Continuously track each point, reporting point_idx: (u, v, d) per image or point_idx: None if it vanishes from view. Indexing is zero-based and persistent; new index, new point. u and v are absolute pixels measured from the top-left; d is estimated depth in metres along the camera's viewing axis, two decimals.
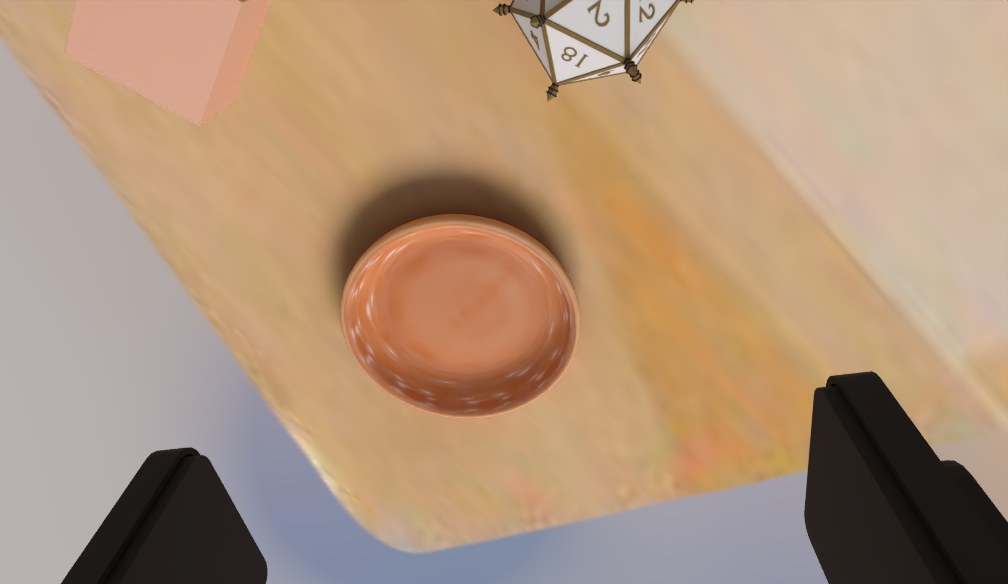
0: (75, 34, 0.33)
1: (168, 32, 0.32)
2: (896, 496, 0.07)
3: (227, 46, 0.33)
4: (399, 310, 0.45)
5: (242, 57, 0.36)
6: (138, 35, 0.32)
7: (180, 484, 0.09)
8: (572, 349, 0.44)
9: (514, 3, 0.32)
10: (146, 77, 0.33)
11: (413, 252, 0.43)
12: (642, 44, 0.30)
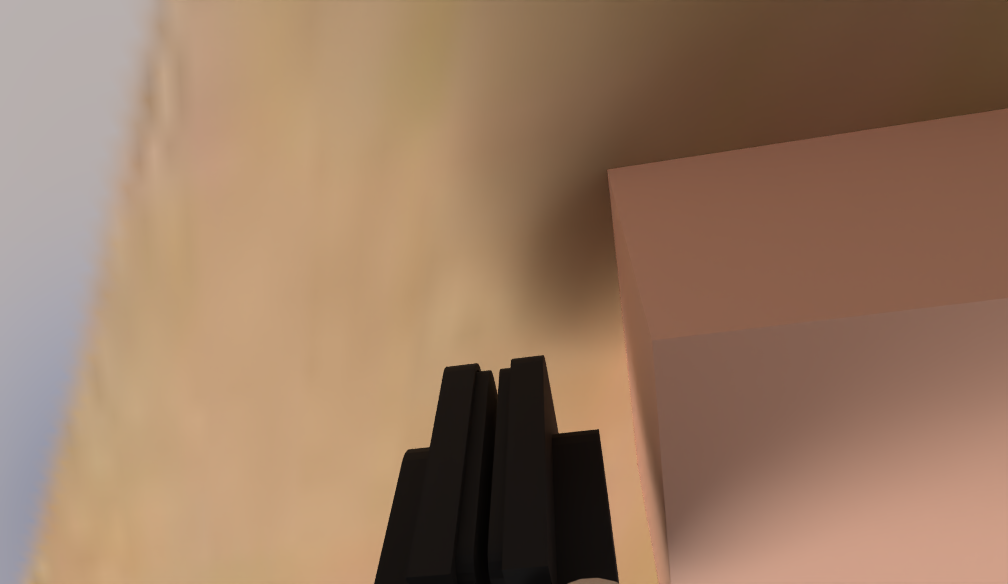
0: (777, 345, 0.07)
1: (971, 572, 0.08)
2: (502, 454, 0.09)
3: None
4: None
5: None
6: (909, 513, 0.08)
7: (485, 393, 0.10)
8: None
9: None
10: (751, 570, 0.09)
11: None
12: None
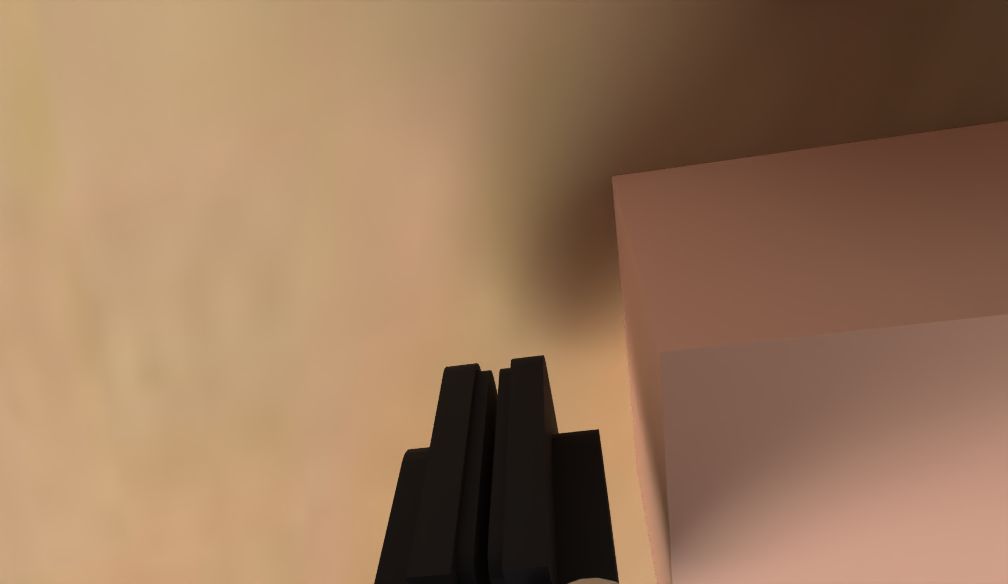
0: (784, 358, 0.07)
1: (970, 583, 0.09)
2: (502, 454, 0.09)
3: None
4: None
5: None
6: (911, 524, 0.08)
7: (485, 393, 0.10)
8: None
9: None
10: (753, 579, 0.09)
11: None
12: None
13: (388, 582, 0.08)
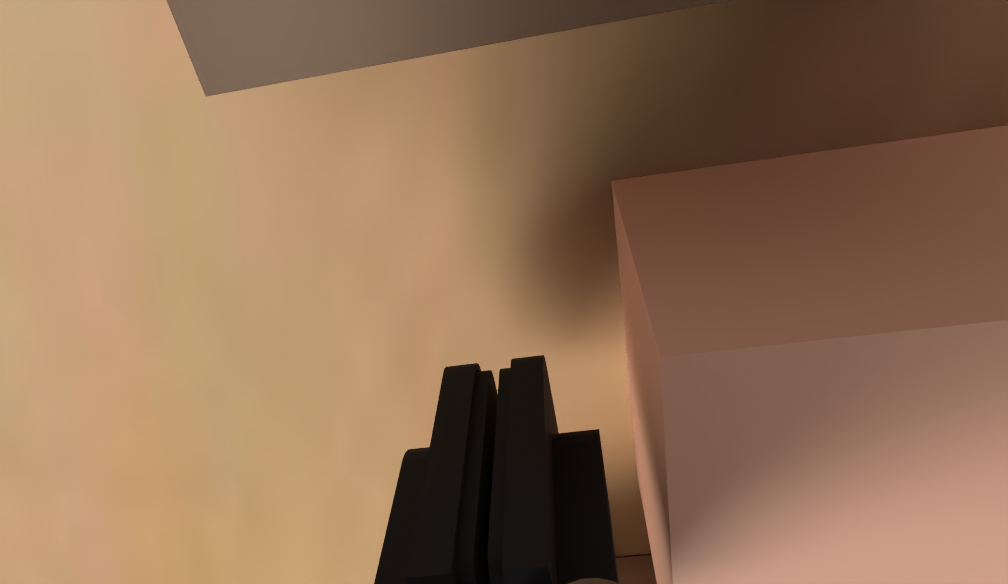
0: (784, 363, 0.07)
1: None
2: (502, 454, 0.09)
3: None
4: None
5: None
6: (910, 527, 0.08)
7: (485, 393, 0.10)
8: None
9: None
10: (754, 581, 0.09)
11: None
12: None
13: (388, 582, 0.08)
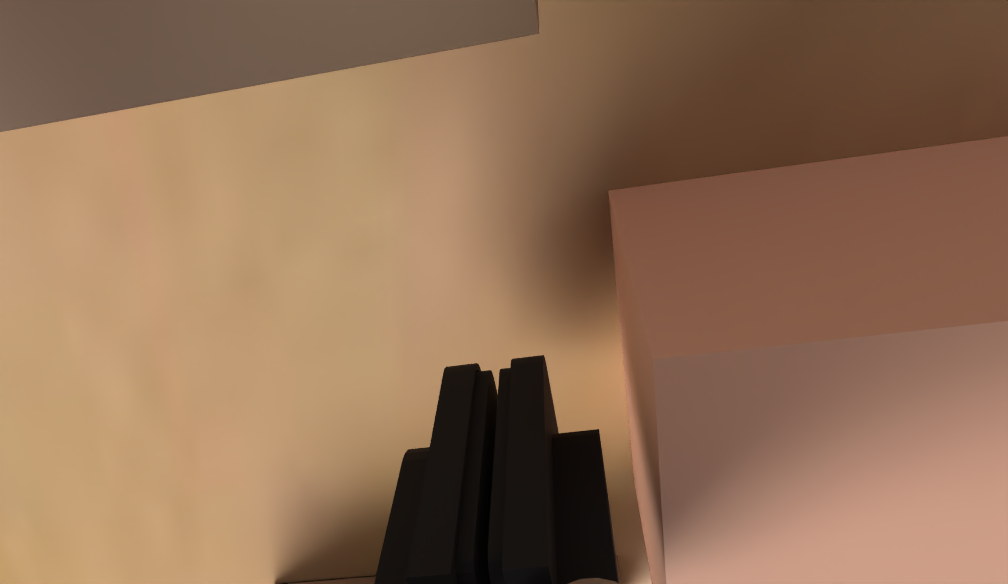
0: (772, 365, 0.07)
1: (951, 579, 0.09)
2: (502, 454, 0.09)
3: None
4: None
5: None
6: (893, 522, 0.08)
7: (485, 393, 0.10)
8: None
9: None
10: (745, 576, 0.09)
11: None
12: None
13: (388, 582, 0.08)
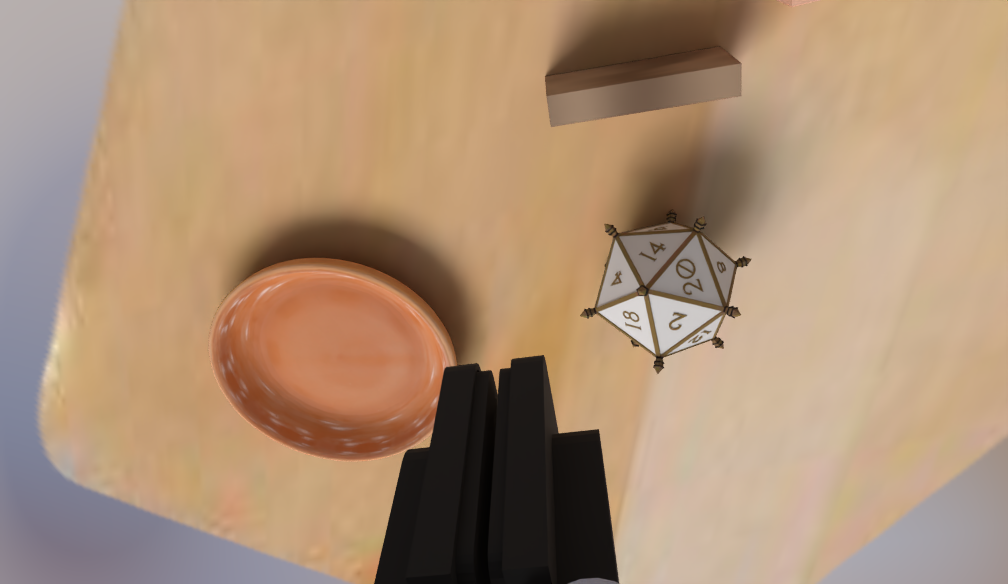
0: None
1: None
2: (502, 454, 0.09)
3: None
4: (290, 311, 0.42)
5: None
6: None
7: (485, 393, 0.10)
8: (400, 450, 0.45)
9: (624, 238, 0.35)
10: None
11: (352, 286, 0.41)
12: (674, 353, 0.35)
13: (388, 582, 0.08)
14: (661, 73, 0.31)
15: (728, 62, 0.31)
